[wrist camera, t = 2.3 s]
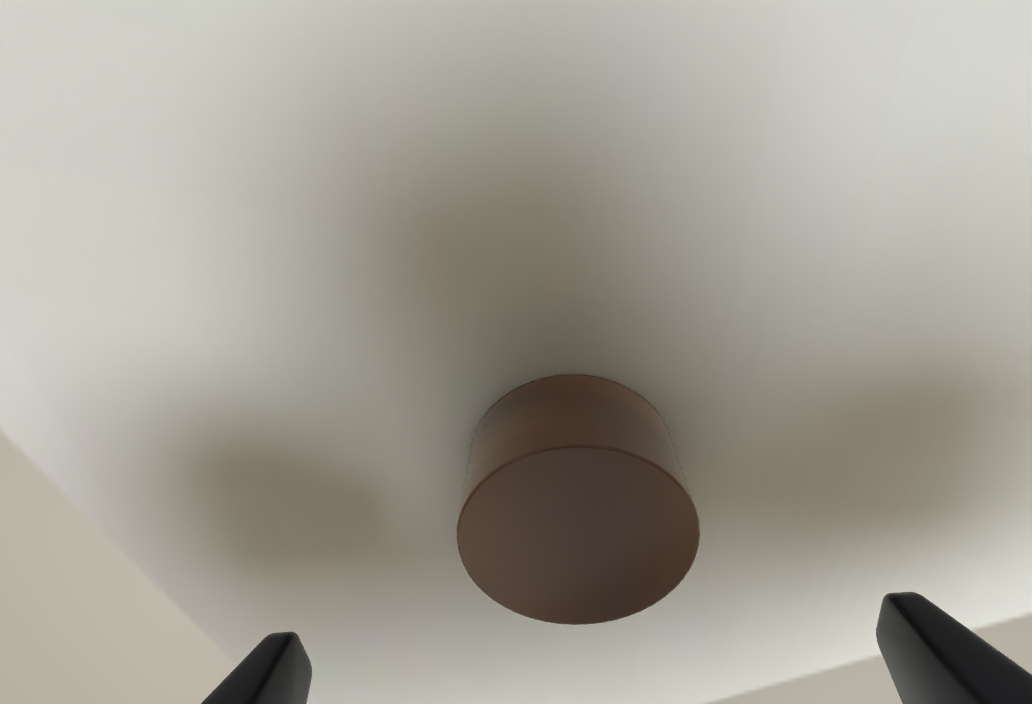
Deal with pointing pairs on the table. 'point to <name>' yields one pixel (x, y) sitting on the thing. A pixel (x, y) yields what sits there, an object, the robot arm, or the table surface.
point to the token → (575, 503)
